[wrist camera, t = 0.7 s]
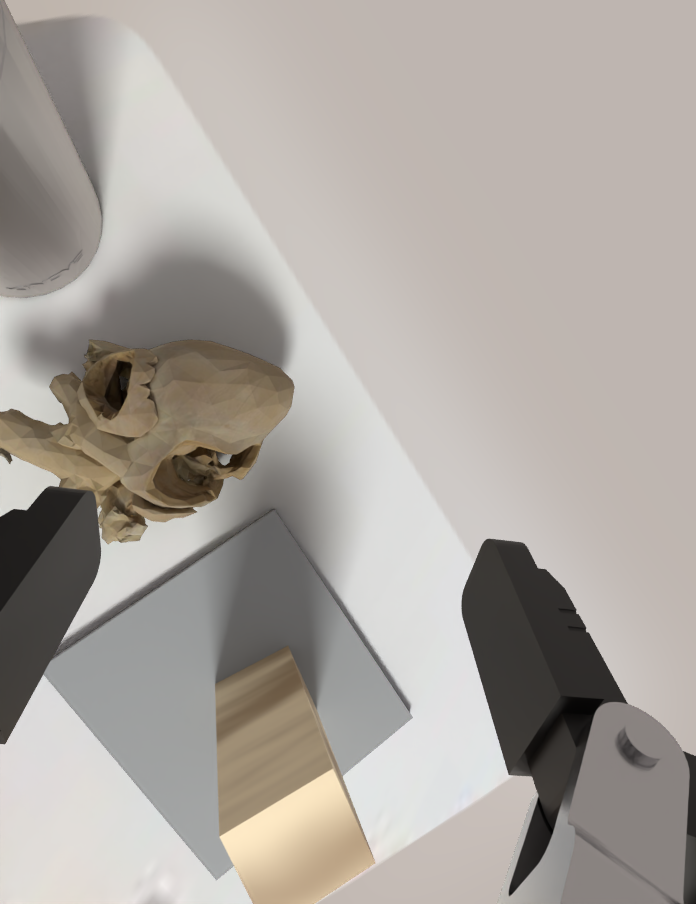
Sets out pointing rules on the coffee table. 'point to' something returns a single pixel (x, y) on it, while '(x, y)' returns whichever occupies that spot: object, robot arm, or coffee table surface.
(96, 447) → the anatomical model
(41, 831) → the coffee table surface
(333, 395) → the coffee table surface
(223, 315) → the coffee table surface
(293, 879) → the birch block
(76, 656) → the slate mat
